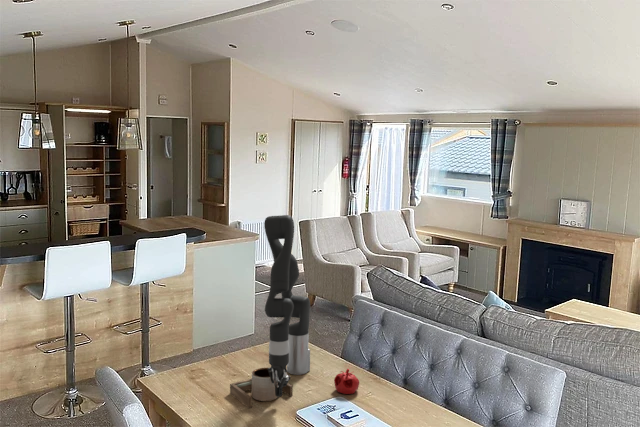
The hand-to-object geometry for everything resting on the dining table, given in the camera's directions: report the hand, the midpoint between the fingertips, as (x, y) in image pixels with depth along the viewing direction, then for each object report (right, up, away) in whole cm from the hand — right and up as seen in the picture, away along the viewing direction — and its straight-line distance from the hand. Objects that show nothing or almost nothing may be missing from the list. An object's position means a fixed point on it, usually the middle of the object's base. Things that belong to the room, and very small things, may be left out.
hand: (278, 395), depth 213 cm
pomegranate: (+26, -3, +14) cm, 30 cm away
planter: (-6, -3, +8) cm, 10 cm away
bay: (-7, -3, +9) cm, 12 cm away
